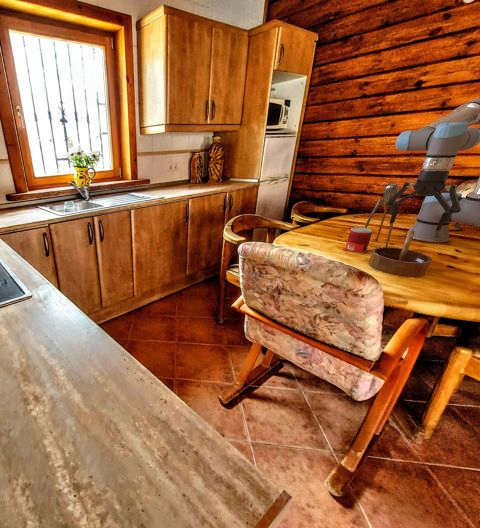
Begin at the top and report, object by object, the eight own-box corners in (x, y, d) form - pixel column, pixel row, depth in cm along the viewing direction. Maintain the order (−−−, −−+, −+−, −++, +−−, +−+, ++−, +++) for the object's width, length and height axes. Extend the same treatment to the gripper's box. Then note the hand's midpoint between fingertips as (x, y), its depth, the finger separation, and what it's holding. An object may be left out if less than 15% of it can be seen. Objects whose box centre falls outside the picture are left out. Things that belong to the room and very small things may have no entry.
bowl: (377, 257, 126) (382, 244, 123) (431, 270, 112) (438, 255, 109) (360, 267, 117) (365, 253, 115) (416, 282, 103) (423, 267, 101)
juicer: (376, 240, 145) (396, 181, 133) (387, 247, 135) (408, 184, 123) (354, 239, 148) (371, 181, 136) (363, 246, 138) (381, 185, 126)
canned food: (366, 255, 128) (374, 232, 124) (345, 252, 132) (351, 230, 128) (364, 249, 134) (371, 228, 130) (344, 247, 138) (350, 226, 134)
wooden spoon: (394, 262, 119) (406, 228, 113) (408, 265, 115) (421, 230, 109) (390, 264, 116) (402, 230, 110) (404, 268, 113) (417, 233, 107)
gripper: (387, 169, 108) (371, 221, 117) (486, 172, 89) (457, 235, 97) (394, 167, 112) (378, 218, 120) (491, 170, 92) (463, 231, 101)
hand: (413, 226), depth 109 cm, fingers open, 13 cm apart
